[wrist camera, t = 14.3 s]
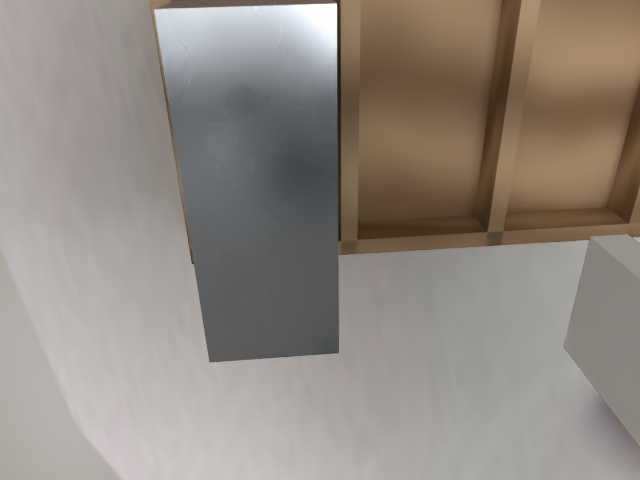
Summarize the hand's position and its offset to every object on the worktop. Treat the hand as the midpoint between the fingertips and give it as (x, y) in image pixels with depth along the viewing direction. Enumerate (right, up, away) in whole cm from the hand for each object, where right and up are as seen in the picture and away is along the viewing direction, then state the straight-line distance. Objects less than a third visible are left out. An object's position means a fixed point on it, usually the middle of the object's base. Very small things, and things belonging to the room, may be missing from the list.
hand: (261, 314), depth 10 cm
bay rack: (+6, +9, +15) cm, 19 cm away
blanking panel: (-1, +8, +14) cm, 16 cm away
